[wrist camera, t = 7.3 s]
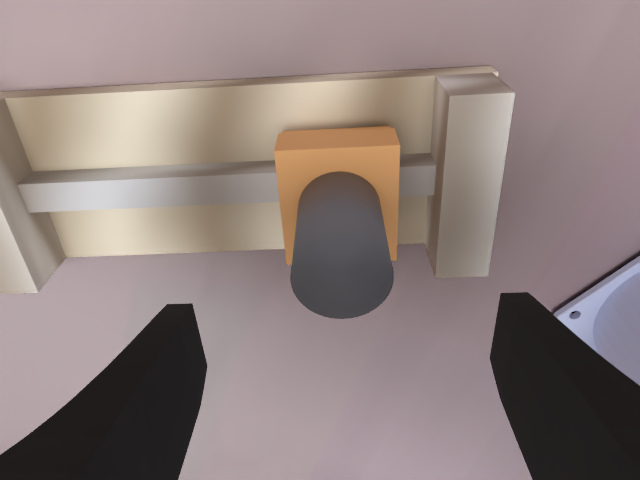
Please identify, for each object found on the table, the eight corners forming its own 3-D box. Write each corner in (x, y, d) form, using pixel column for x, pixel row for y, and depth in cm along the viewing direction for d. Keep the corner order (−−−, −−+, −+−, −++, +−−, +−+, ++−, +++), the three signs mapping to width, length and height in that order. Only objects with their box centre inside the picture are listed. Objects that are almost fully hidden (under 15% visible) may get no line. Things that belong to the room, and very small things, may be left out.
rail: (490, 65, 19) (522, 92, 16) (471, 229, 22) (493, 276, 19) (-38, 93, 19) (-103, 124, 16) (28, 247, 23) (-16, 294, 20)
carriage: (390, 116, 18) (420, 204, 12) (388, 221, 21) (412, 337, 15) (280, 122, 18) (259, 211, 13) (291, 226, 21) (276, 341, 15)
